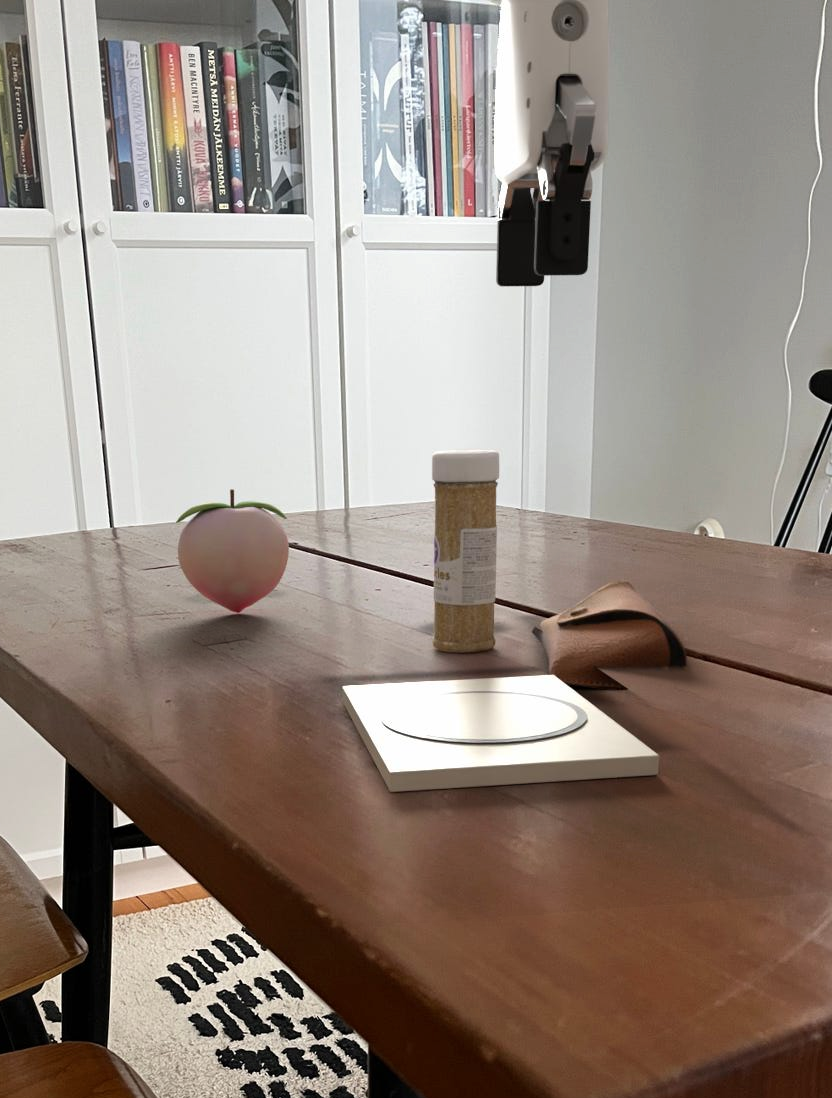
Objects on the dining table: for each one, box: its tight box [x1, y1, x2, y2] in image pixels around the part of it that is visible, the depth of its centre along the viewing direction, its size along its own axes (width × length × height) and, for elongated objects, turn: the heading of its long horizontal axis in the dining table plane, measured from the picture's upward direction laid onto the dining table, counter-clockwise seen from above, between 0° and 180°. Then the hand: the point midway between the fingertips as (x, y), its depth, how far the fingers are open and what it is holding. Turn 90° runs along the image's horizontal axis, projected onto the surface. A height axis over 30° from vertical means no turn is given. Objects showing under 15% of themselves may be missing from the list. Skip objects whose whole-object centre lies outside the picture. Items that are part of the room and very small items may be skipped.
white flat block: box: [341, 674, 660, 793], centre depth 68 cm, size 13×18×1 cm
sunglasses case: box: [531, 579, 688, 690], centre depth 84 cm, size 18×7×7 cm
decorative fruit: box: [176, 488, 290, 614], centre depth 104 cm, size 9×8×10 cm
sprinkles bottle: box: [431, 448, 500, 654], centre depth 87 cm, size 5×5×14 cm
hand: (539, 280), depth 81 cm, fingers open, 9 cm apart
